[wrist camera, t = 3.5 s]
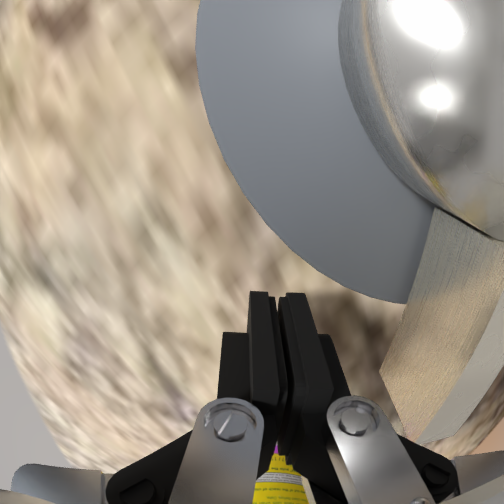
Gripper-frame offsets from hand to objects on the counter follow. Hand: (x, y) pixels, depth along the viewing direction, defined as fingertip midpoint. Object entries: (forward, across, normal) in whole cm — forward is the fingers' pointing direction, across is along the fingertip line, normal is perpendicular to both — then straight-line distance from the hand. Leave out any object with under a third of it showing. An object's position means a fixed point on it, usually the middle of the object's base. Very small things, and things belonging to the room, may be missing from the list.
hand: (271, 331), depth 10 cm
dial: (+1, -6, -6) cm, 8 cm away
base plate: (+3, -6, -9) cm, 11 cm away
